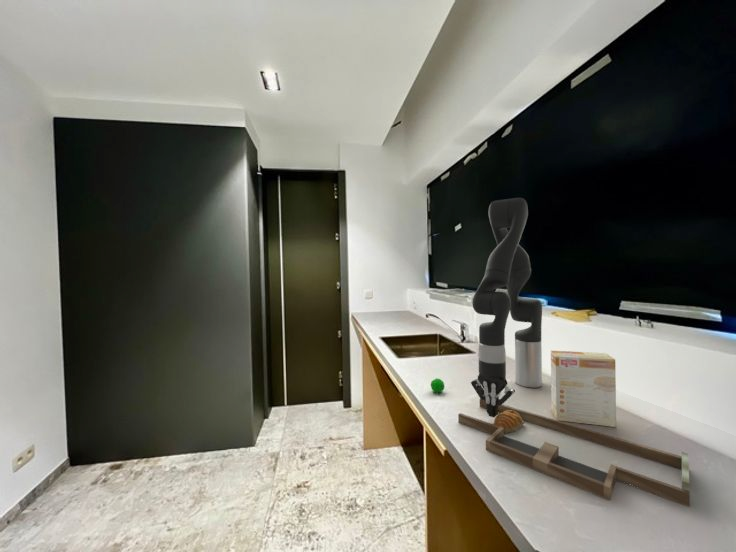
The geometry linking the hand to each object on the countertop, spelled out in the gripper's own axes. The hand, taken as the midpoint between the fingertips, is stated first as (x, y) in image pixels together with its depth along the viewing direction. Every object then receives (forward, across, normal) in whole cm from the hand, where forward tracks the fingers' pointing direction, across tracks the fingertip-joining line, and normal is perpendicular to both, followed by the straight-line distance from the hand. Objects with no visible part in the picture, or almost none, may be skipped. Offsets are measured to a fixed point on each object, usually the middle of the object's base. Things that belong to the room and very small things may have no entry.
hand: (492, 415), depth 93 cm
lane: (+2, -17, +4) cm, 17 cm away
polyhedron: (+2, +24, -8) cm, 26 cm away
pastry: (+2, -4, 0) cm, 5 cm away
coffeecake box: (+2, -19, -20) cm, 27 cm away
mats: (+2, -17, +10) cm, 20 cm away
